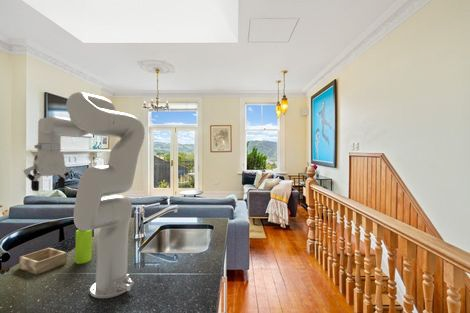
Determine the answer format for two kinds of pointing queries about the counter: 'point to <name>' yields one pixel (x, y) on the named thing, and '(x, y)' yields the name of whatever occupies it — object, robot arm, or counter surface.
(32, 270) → the box
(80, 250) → the soap dispenser
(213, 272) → the counter surface
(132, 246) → the counter surface
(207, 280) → the counter surface
